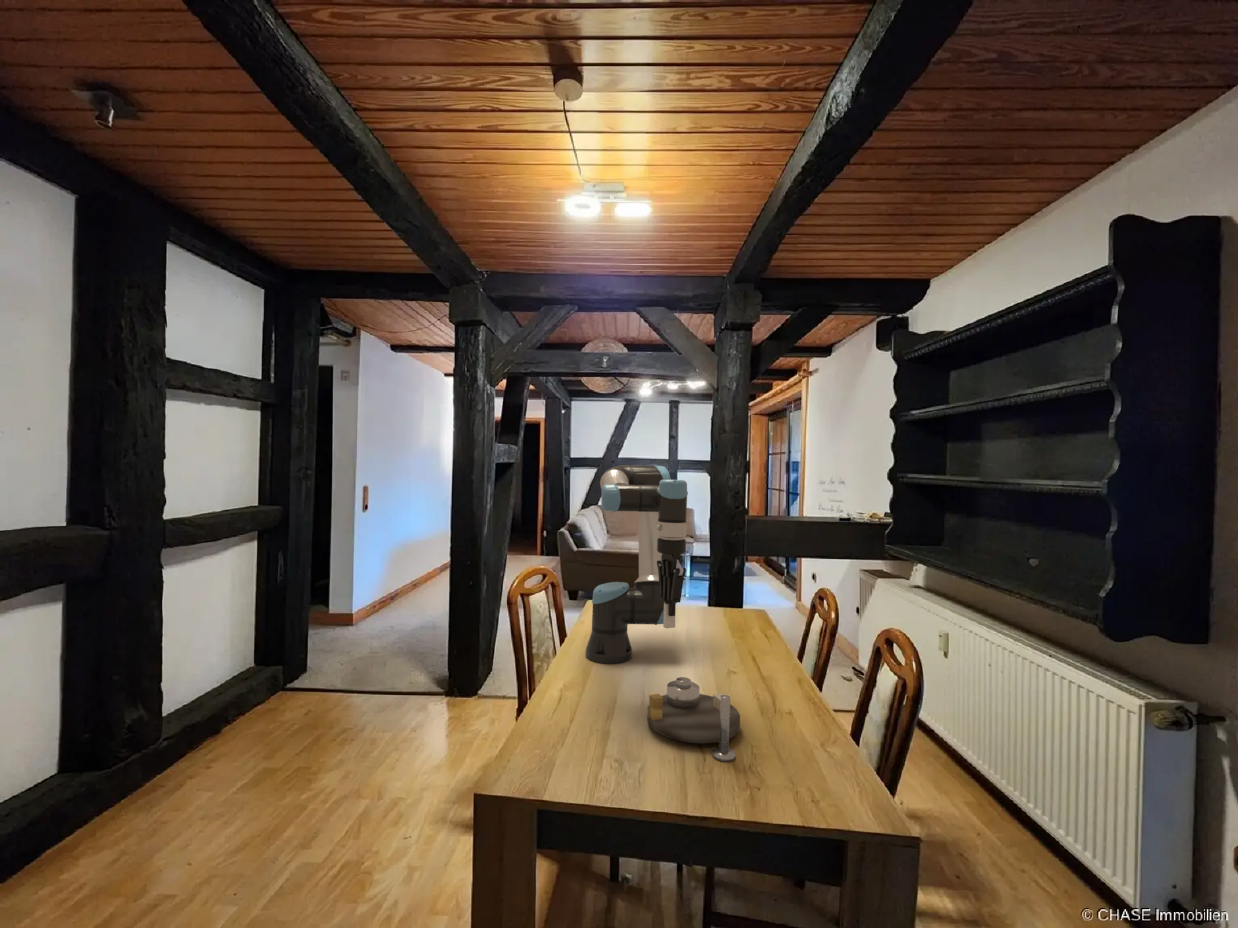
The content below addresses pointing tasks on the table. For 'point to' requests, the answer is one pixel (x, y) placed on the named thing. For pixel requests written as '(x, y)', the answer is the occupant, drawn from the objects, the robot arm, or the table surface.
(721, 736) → the dial post
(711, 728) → the turntable
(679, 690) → the cover
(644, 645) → the table surface
